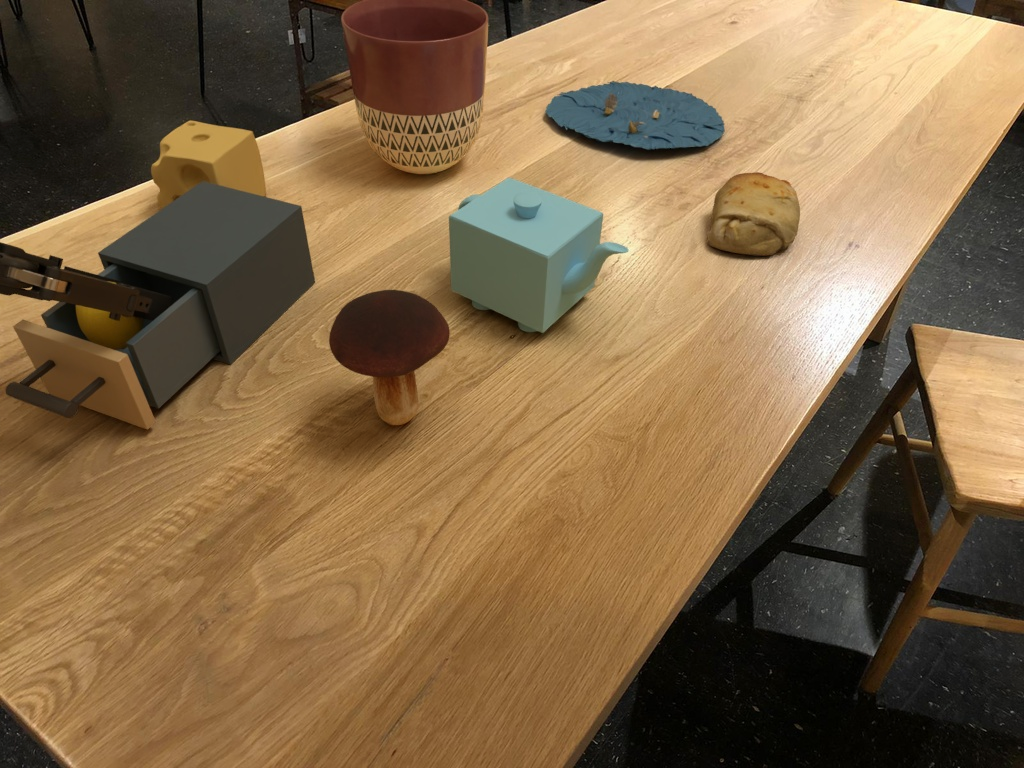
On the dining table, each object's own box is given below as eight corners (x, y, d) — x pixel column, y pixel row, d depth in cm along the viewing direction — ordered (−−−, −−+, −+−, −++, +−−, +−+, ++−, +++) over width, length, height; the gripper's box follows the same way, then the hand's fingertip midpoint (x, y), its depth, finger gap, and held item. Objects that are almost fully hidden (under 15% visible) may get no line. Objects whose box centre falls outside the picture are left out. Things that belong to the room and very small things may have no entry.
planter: (407, 211, 106) (396, 53, 92) (334, 159, 117) (313, 10, 102) (513, 170, 116) (518, 21, 101) (436, 125, 126) (431, -16, 112)
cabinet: (230, 365, 82) (206, 284, 75) (129, 332, 86) (97, 252, 78) (315, 282, 94) (301, 205, 86) (223, 256, 97) (202, 180, 90)
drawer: (110, 465, 70) (75, 397, 64) (8, 426, 74) (-34, 358, 68) (245, 336, 84) (227, 270, 78) (155, 308, 88) (131, 242, 82)
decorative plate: (545, 89, 141) (546, 60, 138) (707, 94, 141) (713, 65, 137) (544, 157, 119) (545, 124, 116) (737, 163, 119) (744, 131, 115)
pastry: (762, 202, 111) (777, 151, 105) (818, 247, 102) (837, 194, 97) (679, 220, 107) (690, 167, 101) (730, 268, 98) (745, 213, 93)
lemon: (128, 372, 74) (100, 306, 68) (81, 358, 75) (49, 293, 70) (164, 337, 78) (140, 273, 72) (119, 325, 79) (92, 260, 74)
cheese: (162, 219, 103) (139, 150, 96) (208, 182, 111) (190, 115, 104) (230, 233, 101) (212, 163, 94) (272, 195, 109) (258, 127, 102)
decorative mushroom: (376, 475, 72) (358, 354, 61) (324, 407, 78) (300, 287, 68) (473, 427, 77) (472, 307, 66) (417, 366, 83) (407, 249, 73)
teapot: (433, 293, 93) (428, 191, 83) (488, 253, 99) (489, 153, 90) (588, 367, 84) (602, 261, 74) (637, 317, 90) (656, 214, 81)
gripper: (20, 223, 52) (226, 288, 74) (-170, 167, 57) (78, 244, 79) (-11, 328, 52) (204, 361, 74) (-198, 263, 57) (58, 313, 79)
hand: (139, 301), depth 77 cm, fingers closed on lemon, 5 cm apart
